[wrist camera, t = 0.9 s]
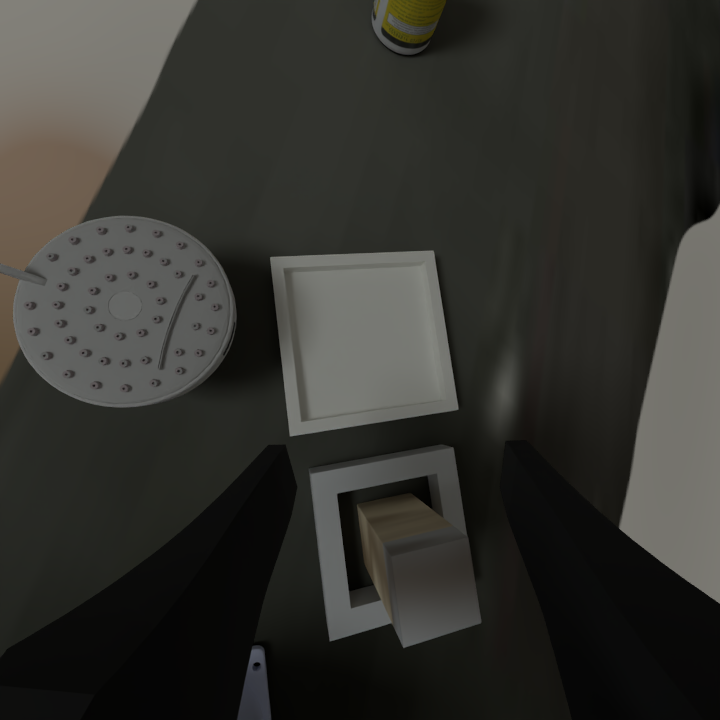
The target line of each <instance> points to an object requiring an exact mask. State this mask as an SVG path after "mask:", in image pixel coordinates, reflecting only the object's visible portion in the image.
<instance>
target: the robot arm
mask: <svg viewBox="0 0 720 720" xmlns="http://www.w3.org/2000/svg"><path fill="white" fill-rule="evenodd" d="M500 489H501V494H502V498H503V502H504V506H505V510H506V513H507V517H508V520H509V523H510V526H511V529H512V531H513V534H514V537H515V539H516V542H517V545H518V547H519V550H520V553H521V555H522V558H523V560H524V563H525V566H526V568H527V571H528V574H529V576H530V579H531V582H532V584H533V587H534V589H535V592H536V595H537V597H538V600H539V603H540V606H541V609H542V612H543V615H544V619H545V622H546V626H547V629H548V633H549V636H550V640H551V643H552V647H553V650H554V654H555V657H556V661H557V665H558V668H559V672H560V676H561V679H562V683H563V687H564V690H565V694H566V698H567V702H568V705H569V709H570V713H571V717H572V720H720V604H719V603H718V602H716V601H715V600H714V599H712V598H710V597H709V596H708V595H706V594H705V593H704V592H702V591H701V590H699V589H698V588H696V587H695V586H694V585H692V584H690V583H689V582H687V581H686V580H685V579H684V578H682V577H681V576H679V575H678V574H677V573H675V572H674V571H673V570H671V569H670V568H668V567H667V566H666V565H664V564H663V563H661V562H660V561H659V560H658V559H656V558H655V557H654V556H653V555H651V554H650V553H649V552H647V551H646V550H645V549H644V548H642V547H641V546H640V545H638V544H637V543H636V542H635V541H633V540H632V539H631V538H630V537H628V536H627V535H626V534H625V533H624V532H622V531H621V530H620V529H619V528H618V527H616V526H615V525H614V524H613V523H612V522H611V521H610V520H608V519H607V518H606V517H605V516H604V515H603V514H601V513H600V512H599V511H598V510H597V509H596V508H595V507H594V506H593V505H591V504H590V503H589V502H588V501H587V500H586V499H585V498H584V497H583V496H582V495H581V494H580V493H579V492H578V491H577V490H575V489H574V488H573V487H572V486H571V485H570V484H569V483H568V482H567V481H566V480H565V479H564V478H563V477H562V476H561V475H560V474H559V473H558V472H557V471H556V470H555V469H554V468H553V467H552V466H551V465H550V464H549V463H548V462H547V461H546V460H545V459H544V458H543V457H542V456H541V455H540V454H539V453H538V452H537V451H536V450H535V449H534V448H533V447H532V445H531V444H530V443H528V442H527V441H526V440H521V441H506V442H505V450H504V458H503V466H502V474H501V482H500ZM296 490H297V484H296V481H295V477H294V474H293V470H292V466H291V463H290V459H289V456H288V452H287V448H286V445H268V446H267V447H266V448H265V449H264V450H263V451H262V452H261V453H260V454H259V455H258V457H257V458H256V459H255V460H254V461H253V462H252V463H251V464H250V465H249V466H248V467H247V468H246V469H245V470H244V471H243V472H242V473H241V475H240V476H239V477H238V478H237V479H236V480H235V481H234V482H233V483H232V484H231V485H230V486H229V487H228V488H227V489H226V490H225V491H224V492H223V493H222V494H221V495H220V496H219V497H218V498H217V499H216V500H215V501H214V502H213V503H212V504H211V505H209V506H208V507H207V508H206V509H205V510H204V511H203V512H202V513H201V514H200V515H199V516H198V517H197V518H196V519H195V520H193V521H192V522H191V523H190V524H189V525H188V526H187V527H186V528H184V529H183V530H182V531H181V532H180V533H178V534H177V535H176V536H175V537H174V538H172V539H171V540H170V541H169V542H168V543H166V544H165V545H164V546H163V547H161V548H160V549H159V550H158V551H156V552H155V553H154V554H152V555H151V556H150V557H148V558H147V559H146V560H144V561H143V562H142V563H140V564H139V565H138V566H136V567H135V568H133V569H132V570H131V571H129V572H128V573H127V574H125V575H124V576H123V577H121V578H120V579H118V580H117V581H116V582H114V583H113V584H111V585H110V586H108V587H107V588H105V589H104V590H102V591H101V592H99V593H98V594H96V595H95V596H93V597H92V598H90V599H89V600H87V601H86V602H84V603H83V604H81V605H80V606H78V607H76V608H75V609H73V610H72V611H70V612H69V613H67V614H65V615H64V616H62V617H60V618H59V619H57V620H55V621H54V622H52V623H50V624H49V625H47V626H45V627H44V628H42V629H40V630H39V631H37V632H35V633H34V634H32V635H30V636H29V637H27V638H25V639H24V640H22V641H20V642H18V643H17V644H15V645H13V646H11V647H10V648H8V649H7V650H6V652H5V653H4V654H3V655H2V656H1V658H0V720H271V710H270V700H269V690H268V680H267V670H266V660H265V651H264V648H263V647H262V646H260V645H255V646H253V642H254V637H255V633H256V629H257V625H258V621H259V617H260V613H261V609H262V604H263V601H264V597H265V594H266V591H267V587H268V584H269V581H270V578H271V575H272V572H273V569H274V566H275V563H276V560H277V557H278V554H279V551H280V549H281V546H282V543H283V540H284V537H285V534H286V531H287V528H288V524H289V521H290V518H291V515H292V510H293V505H294V501H295V496H296ZM256 662H259V663H260V665H259V666H258V667H255V666H254V665H253V664H254V663H256Z"/></svg>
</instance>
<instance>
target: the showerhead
mask: <svg viewBox="0 0 720 720" xmlns="http://www.w3.org/2000/svg"><path fill="white" fill-rule="evenodd" d="M0 273H3V274H5V275H9V276H12V277H14V278H17V279H20V281H19V284H18V287H17V291H16V294H15V298H14V307H13V308H14V309H13V321H14V327H15V332H16V336H17V340H18V342H19V345H20V347H21V349H22V351H23V353H24V355H25V357H26V358H27V360H28V361H29V363H30V364H31V365H32V367H33V368H34V369H35V370H36V372H37V373H38V374H39V375H40V376H41V377H42V378H43V379H45V380H46V381H47V382H48V383H50V384H51V385H52V386H54V387H55V388H57V389H58V390H60V391H61V392H63V393H65V394H67V395H69V396H71V397H73V398H76V399H78V400H81V401H84V402H88V403H91V404H95V405H101V406H108V407H137V406H145V405H151V404H157V403H161V402H165V401H169V400H171V399H174V398H177V397H179V396H181V395H184V394H186V393H187V392H189V391H191V390H193V389H194V388H196V387H197V386H199V385H200V384H201V383H203V382H204V381H205V380H206V379H207V378H208V377H209V376H210V375H211V374H212V373H213V372H214V371H215V370H216V369H217V368H218V367H219V365H220V364H221V362H222V361H223V359H224V358H225V356H226V354H227V352H228V351H229V349H230V346H231V344H232V341H233V337H234V333H235V328H236V319H237V314H236V304H235V298H234V294H233V291H232V288H231V286H230V283H229V280H228V278H227V276H226V274H225V272H224V270H223V268H222V266H221V265H220V263H219V261H218V260H217V259H216V257H215V256H214V255H213V254H212V253H211V252H210V250H209V249H208V248H207V247H206V246H205V245H203V244H202V243H201V242H200V241H199V240H197V239H196V238H195V237H193V236H192V235H190V234H189V233H187V232H185V231H184V230H182V229H180V228H178V227H176V226H173V225H171V224H168V223H166V222H162V221H159V220H155V219H151V218H146V217H137V216H113V217H105V218H100V219H95V220H91V221H87V222H85V223H82V224H80V225H77V226H75V227H73V228H70V229H68V230H66V231H65V232H63V233H61V234H60V235H58V236H57V237H55V238H54V239H52V240H51V241H49V242H48V243H47V244H46V245H45V246H44V247H43V248H42V249H41V250H40V251H39V252H38V253H37V254H36V255H35V256H34V257H33V259H32V260H31V262H30V263H29V265H28V266H27V267H26V269H25V271H21V270H18V269H15V268H12V267H9V266H6V265H3V264H0Z"/></svg>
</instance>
